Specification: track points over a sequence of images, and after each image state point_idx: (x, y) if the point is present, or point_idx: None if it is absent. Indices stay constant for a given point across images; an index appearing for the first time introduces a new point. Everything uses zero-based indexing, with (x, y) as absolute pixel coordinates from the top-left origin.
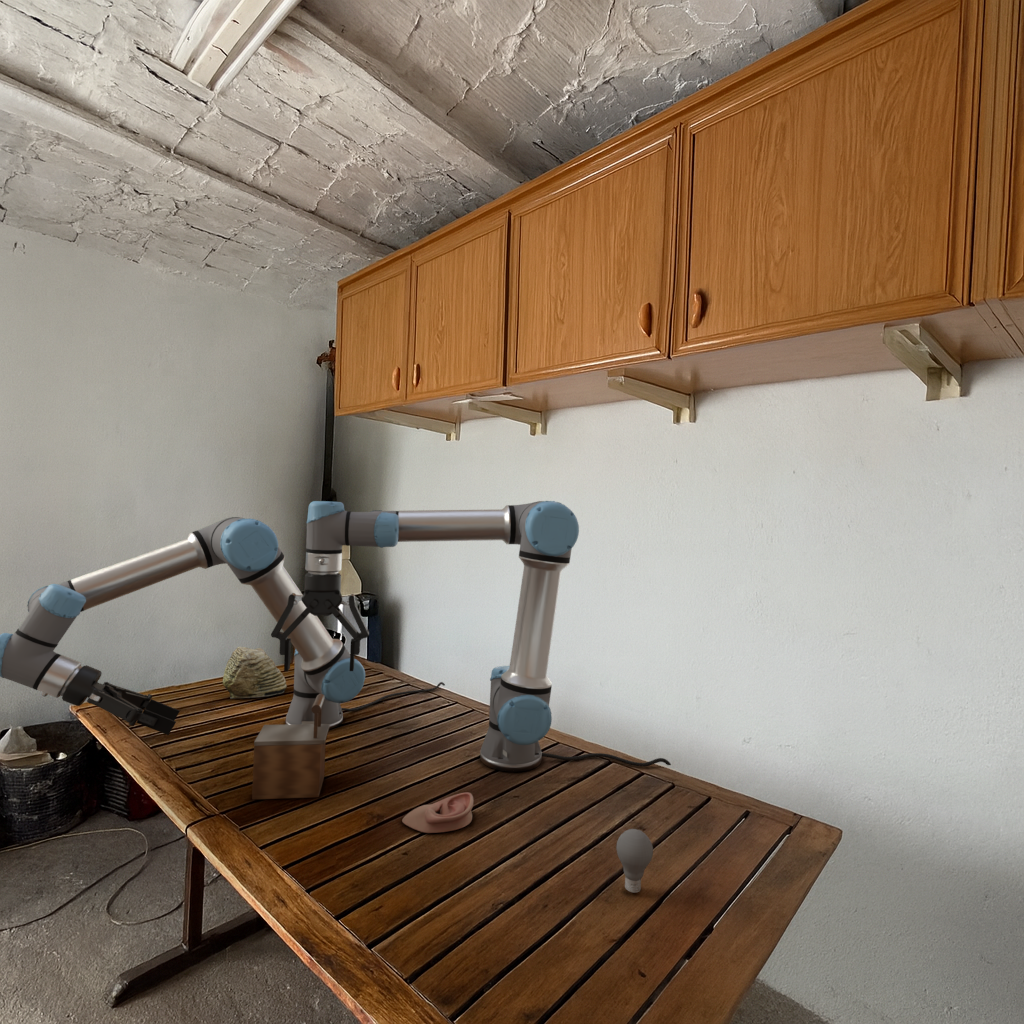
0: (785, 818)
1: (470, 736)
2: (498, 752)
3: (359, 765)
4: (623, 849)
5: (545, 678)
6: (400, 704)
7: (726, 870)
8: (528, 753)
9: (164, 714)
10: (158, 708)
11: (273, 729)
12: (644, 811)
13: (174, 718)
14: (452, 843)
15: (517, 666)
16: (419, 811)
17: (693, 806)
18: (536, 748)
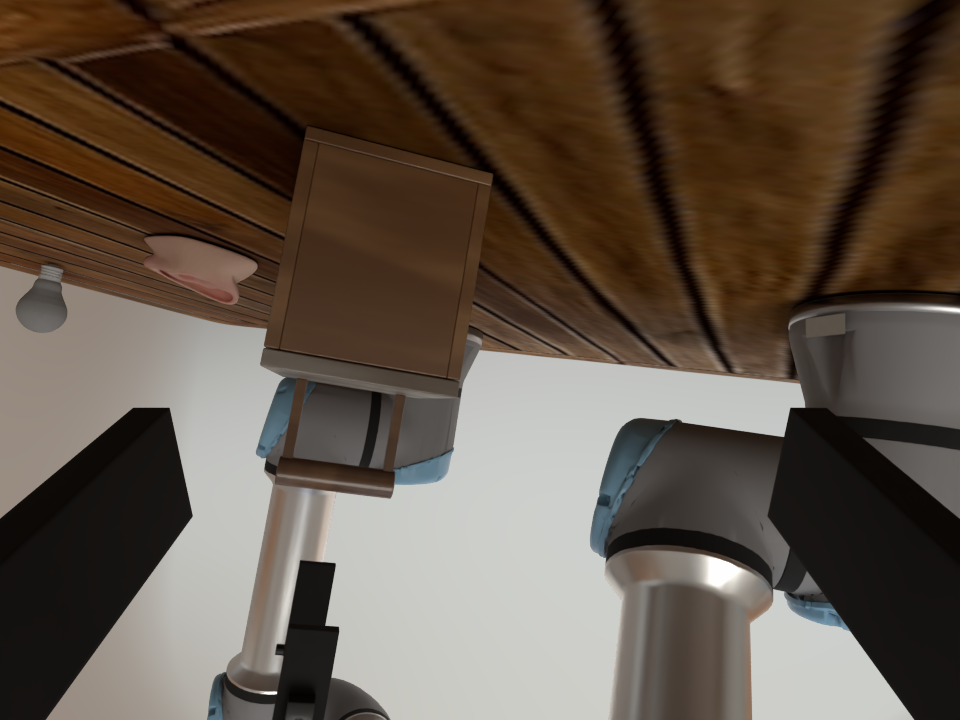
0: (242, 324)
1: (552, 338)
2: None
3: (493, 273)
4: (21, 313)
5: None
6: None
7: (127, 291)
8: None
9: (846, 519)
10: (903, 625)
11: (393, 389)
12: (252, 310)
13: (786, 452)
14: (121, 239)
15: (279, 502)
16: (189, 263)
17: (266, 320)
18: None
